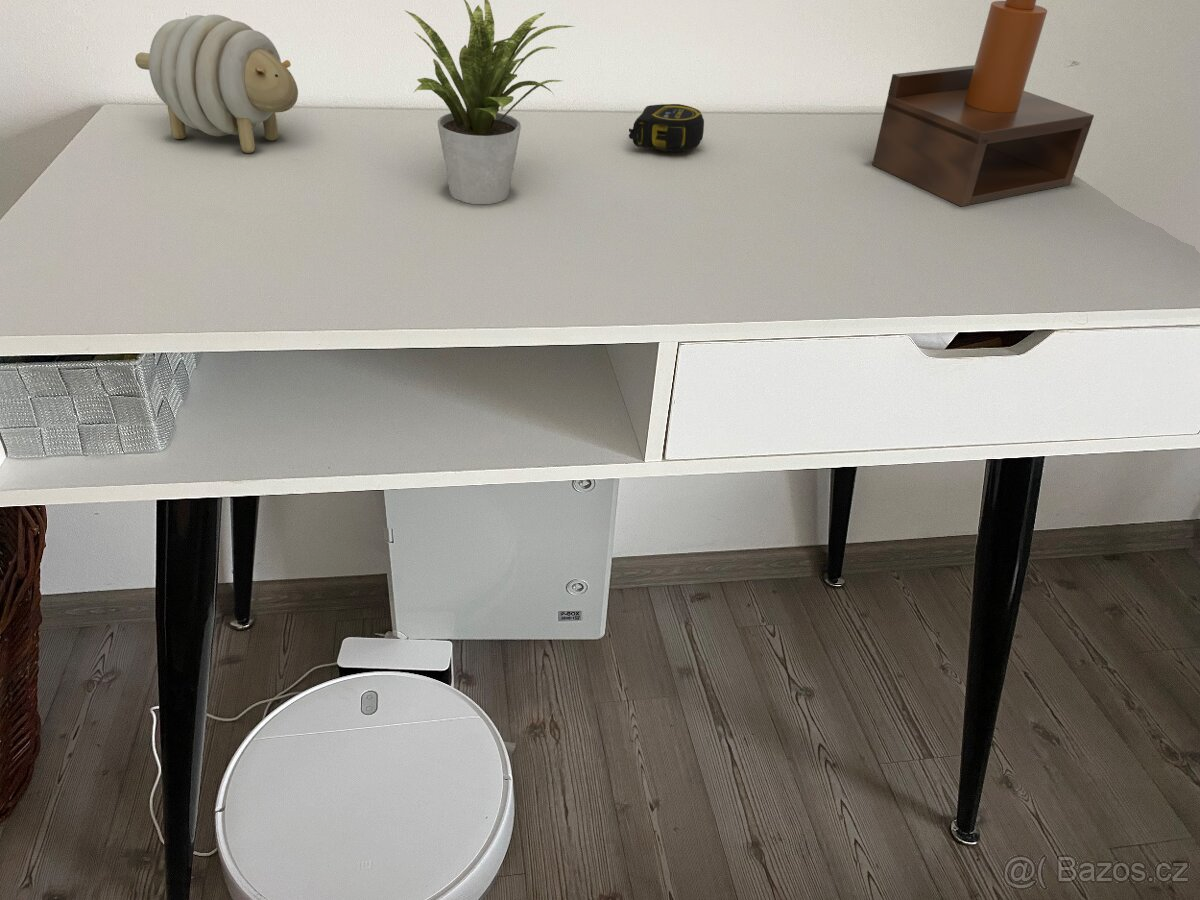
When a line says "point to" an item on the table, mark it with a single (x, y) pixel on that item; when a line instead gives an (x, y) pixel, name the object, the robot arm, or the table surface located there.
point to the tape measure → (668, 127)
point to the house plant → (480, 106)
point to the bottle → (1005, 55)
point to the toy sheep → (219, 77)
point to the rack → (975, 139)
